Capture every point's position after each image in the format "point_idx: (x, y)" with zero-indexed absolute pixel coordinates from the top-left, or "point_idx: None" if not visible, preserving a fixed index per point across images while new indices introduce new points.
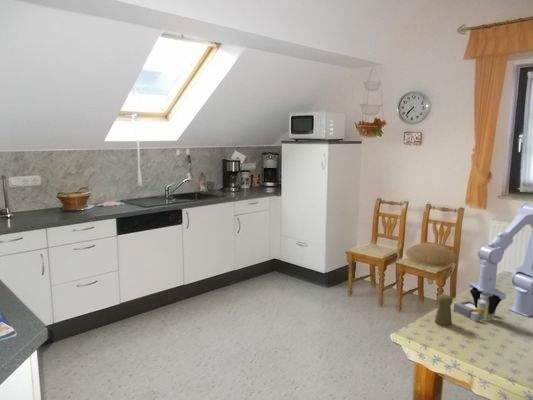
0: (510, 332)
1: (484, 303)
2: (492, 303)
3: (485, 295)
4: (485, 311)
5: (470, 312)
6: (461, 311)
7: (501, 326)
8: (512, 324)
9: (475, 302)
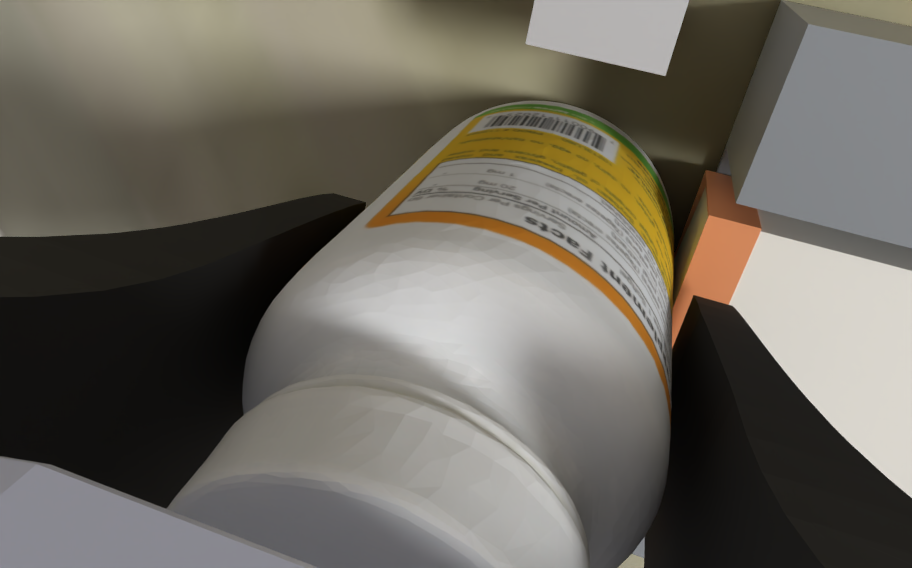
0: (42, 10)
1: (364, 253)
2: (53, 243)
3: (298, 544)
4: (413, 175)
5: (774, 71)
6: None
7: (219, 120)
8: None
9: (735, 357)
